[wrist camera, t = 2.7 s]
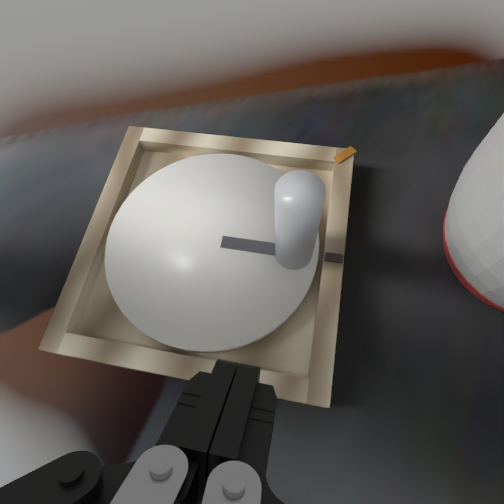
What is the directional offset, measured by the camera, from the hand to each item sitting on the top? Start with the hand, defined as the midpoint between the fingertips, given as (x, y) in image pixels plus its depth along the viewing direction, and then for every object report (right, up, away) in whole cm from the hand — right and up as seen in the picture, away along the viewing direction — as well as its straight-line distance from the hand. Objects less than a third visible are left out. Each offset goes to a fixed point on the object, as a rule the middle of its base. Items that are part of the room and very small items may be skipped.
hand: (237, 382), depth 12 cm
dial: (-3, +5, +19) cm, 20 cm away
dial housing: (-3, +4, +20) cm, 21 cm away
